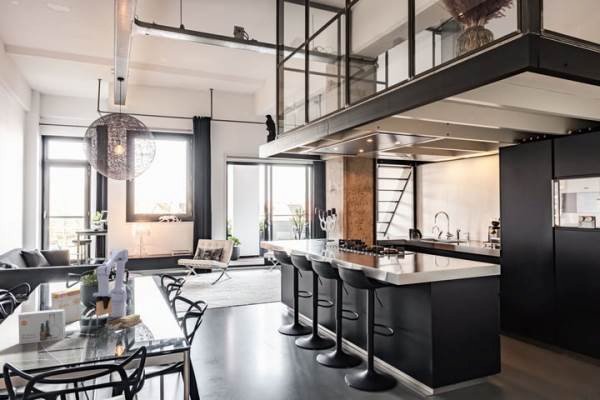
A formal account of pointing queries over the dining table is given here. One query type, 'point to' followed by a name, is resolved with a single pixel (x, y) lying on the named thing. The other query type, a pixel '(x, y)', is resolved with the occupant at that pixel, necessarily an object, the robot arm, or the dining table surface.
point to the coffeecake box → (68, 304)
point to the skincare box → (41, 326)
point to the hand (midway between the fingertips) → (104, 308)
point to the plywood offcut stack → (130, 320)
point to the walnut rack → (117, 323)
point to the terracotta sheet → (101, 310)
